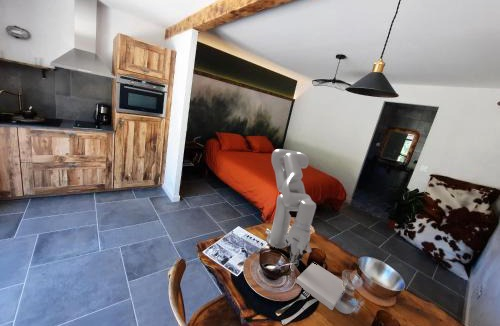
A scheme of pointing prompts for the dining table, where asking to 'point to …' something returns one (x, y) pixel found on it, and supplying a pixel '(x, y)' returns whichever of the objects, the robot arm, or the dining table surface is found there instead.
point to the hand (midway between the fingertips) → (293, 255)
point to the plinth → (321, 285)
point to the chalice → (294, 252)
